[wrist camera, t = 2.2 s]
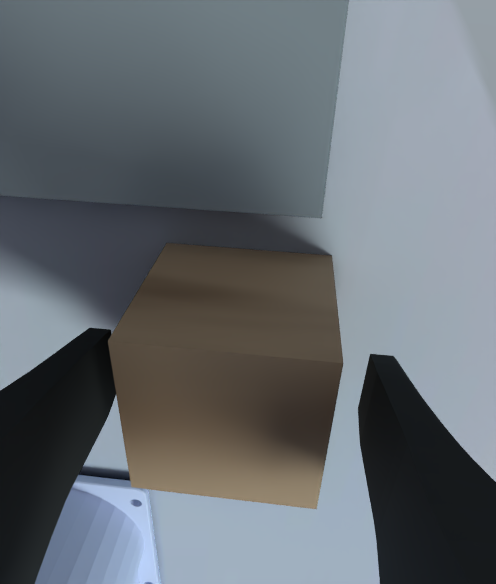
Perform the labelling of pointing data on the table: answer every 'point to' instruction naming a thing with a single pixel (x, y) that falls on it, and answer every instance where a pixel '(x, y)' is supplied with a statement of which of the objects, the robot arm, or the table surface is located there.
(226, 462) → the walnut cube
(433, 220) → the table surface
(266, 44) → the slate coaster
